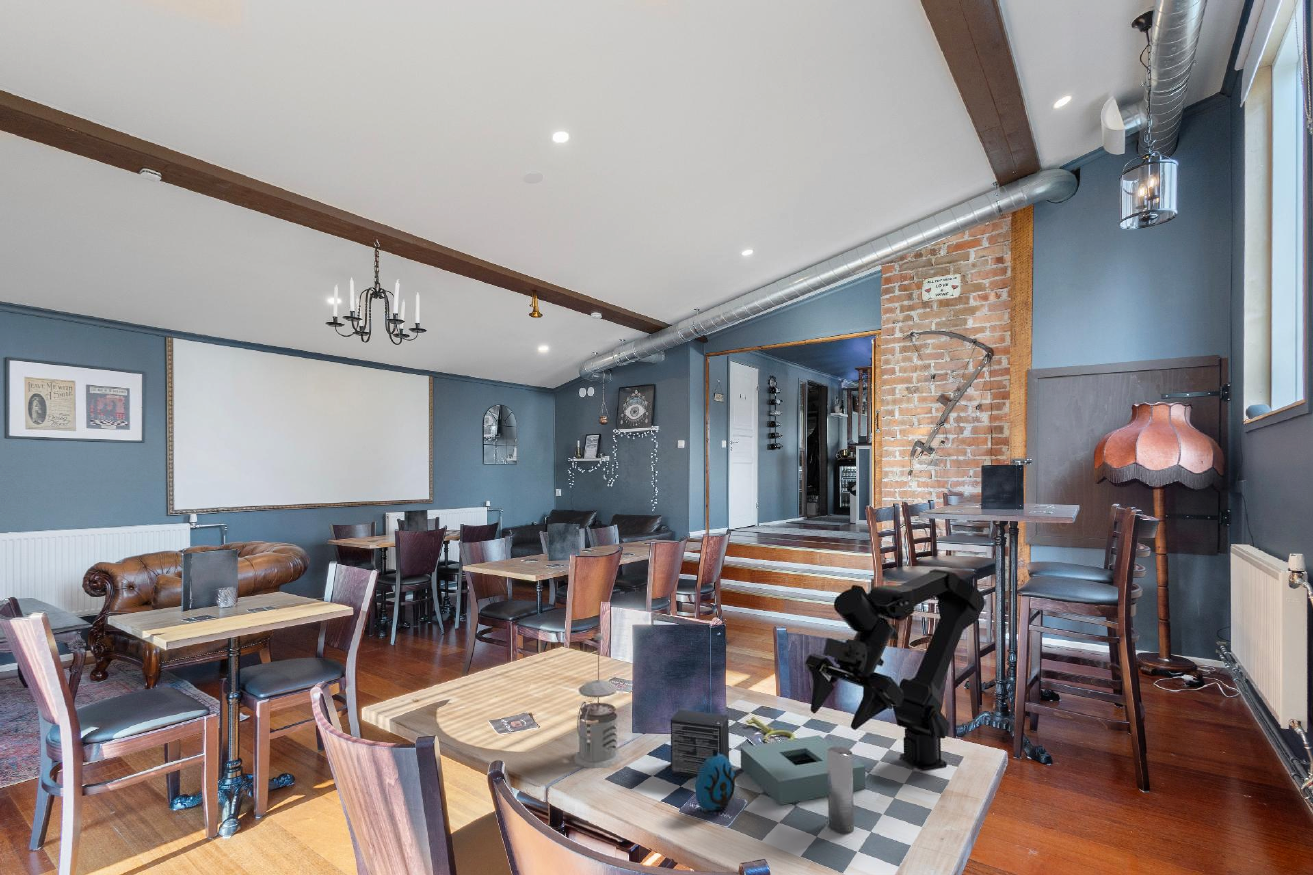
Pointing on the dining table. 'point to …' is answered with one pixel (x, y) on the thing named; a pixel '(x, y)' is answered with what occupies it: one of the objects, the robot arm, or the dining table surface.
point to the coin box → (794, 769)
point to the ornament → (715, 782)
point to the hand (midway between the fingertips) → (831, 719)
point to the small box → (696, 740)
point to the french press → (597, 725)
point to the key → (769, 729)
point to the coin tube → (840, 790)
